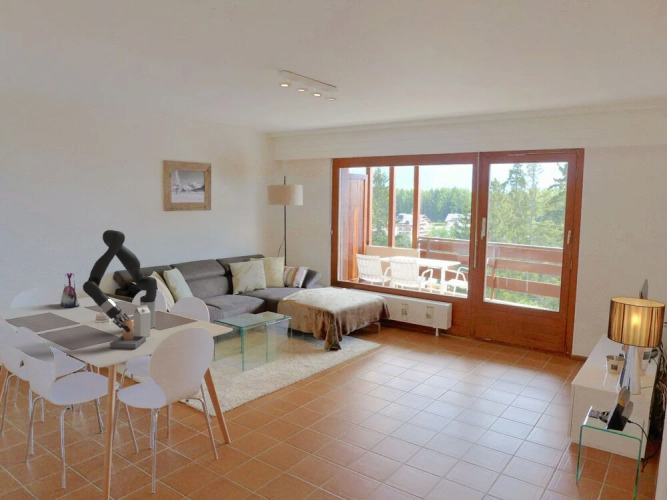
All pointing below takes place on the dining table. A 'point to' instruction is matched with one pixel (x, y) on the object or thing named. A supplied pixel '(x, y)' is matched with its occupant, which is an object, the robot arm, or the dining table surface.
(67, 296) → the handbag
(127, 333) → the tan cylinder
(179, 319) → the dining table surface
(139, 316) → the milk carton
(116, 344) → the tray
